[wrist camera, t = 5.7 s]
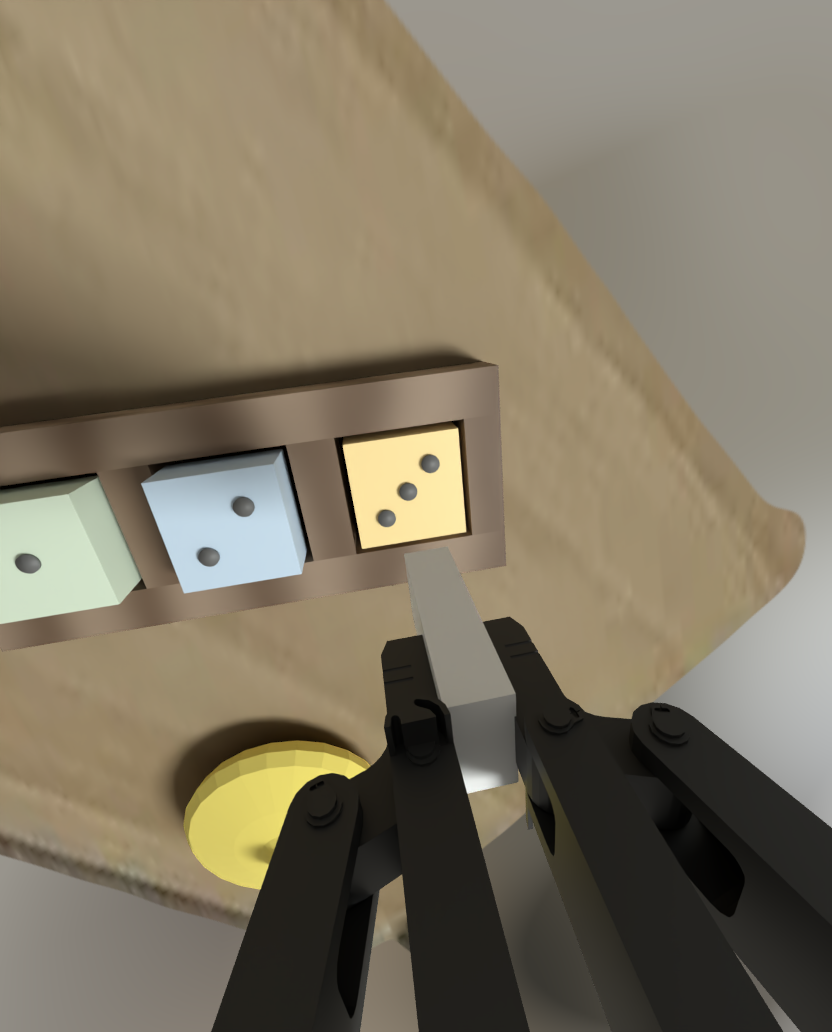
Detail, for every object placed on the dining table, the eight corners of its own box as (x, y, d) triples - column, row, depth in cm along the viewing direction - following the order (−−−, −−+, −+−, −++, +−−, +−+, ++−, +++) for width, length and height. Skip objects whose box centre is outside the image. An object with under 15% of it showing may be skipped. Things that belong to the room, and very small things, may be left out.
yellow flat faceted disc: (224, 698, 33) (192, 789, 26) (417, 738, 37) (431, 825, 30) (176, 834, 37) (139, 938, 31) (351, 855, 42) (350, 952, 35)
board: (36, 620, 28) (2, 651, 25) (-69, 436, 23) (-125, 450, 20) (492, 544, 30) (506, 565, 27) (482, 361, 25) (498, 365, 23)
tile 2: (202, 565, 26) (182, 595, 23) (165, 465, 23) (139, 484, 20) (307, 548, 26) (301, 576, 23) (282, 448, 24) (272, 465, 21)
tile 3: (361, 527, 28) (362, 550, 25) (343, 433, 26) (342, 446, 23) (455, 512, 29) (466, 533, 26) (447, 418, 26) (458, 429, 23)
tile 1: (34, 593, 25) (-9, 627, 22) (-22, 492, 23) (-78, 516, 20) (144, 575, 26) (117, 606, 23) (102, 475, 23) (65, 495, 20)
